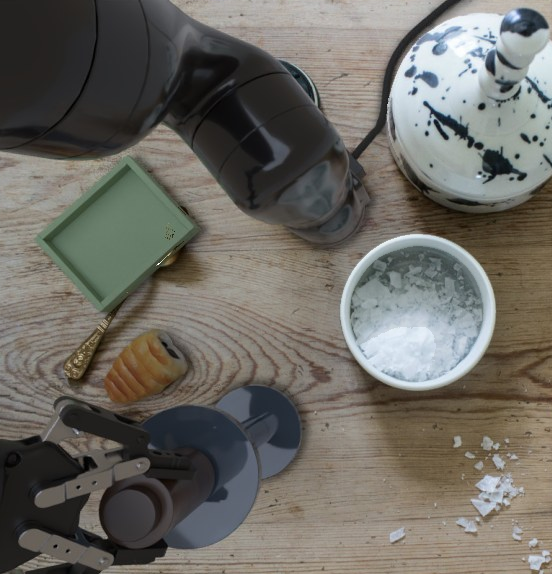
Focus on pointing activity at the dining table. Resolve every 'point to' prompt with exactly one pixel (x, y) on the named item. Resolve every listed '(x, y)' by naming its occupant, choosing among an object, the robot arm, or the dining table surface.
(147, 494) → the pepper mill
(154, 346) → the pastry
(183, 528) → the stand
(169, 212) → the tray
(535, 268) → the dining table surface
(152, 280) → the dining table surface
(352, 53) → the dining table surface
